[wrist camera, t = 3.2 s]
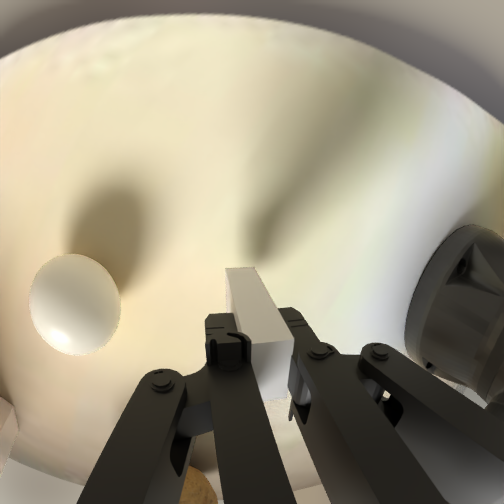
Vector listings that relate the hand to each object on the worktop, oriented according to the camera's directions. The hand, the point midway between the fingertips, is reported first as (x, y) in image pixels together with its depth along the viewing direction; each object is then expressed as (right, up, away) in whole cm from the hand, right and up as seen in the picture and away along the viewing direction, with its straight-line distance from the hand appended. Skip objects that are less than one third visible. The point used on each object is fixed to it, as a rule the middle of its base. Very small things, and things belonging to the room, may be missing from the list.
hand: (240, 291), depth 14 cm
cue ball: (-9, -1, -2) cm, 9 cm away
